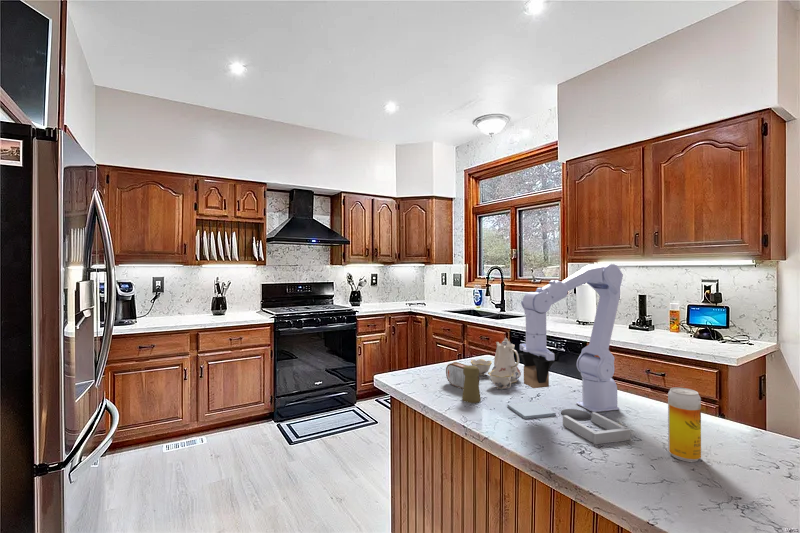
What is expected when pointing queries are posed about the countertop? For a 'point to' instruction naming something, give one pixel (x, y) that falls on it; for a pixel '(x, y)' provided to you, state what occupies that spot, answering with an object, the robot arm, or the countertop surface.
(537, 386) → the walnut cube
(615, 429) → the grey flat u-shaped piece
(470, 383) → the olive waisted block
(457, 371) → the tin
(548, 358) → the robot arm
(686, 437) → the beer can
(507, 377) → the chinaware
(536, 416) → the board
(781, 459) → the countertop surface
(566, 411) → the hole mat
